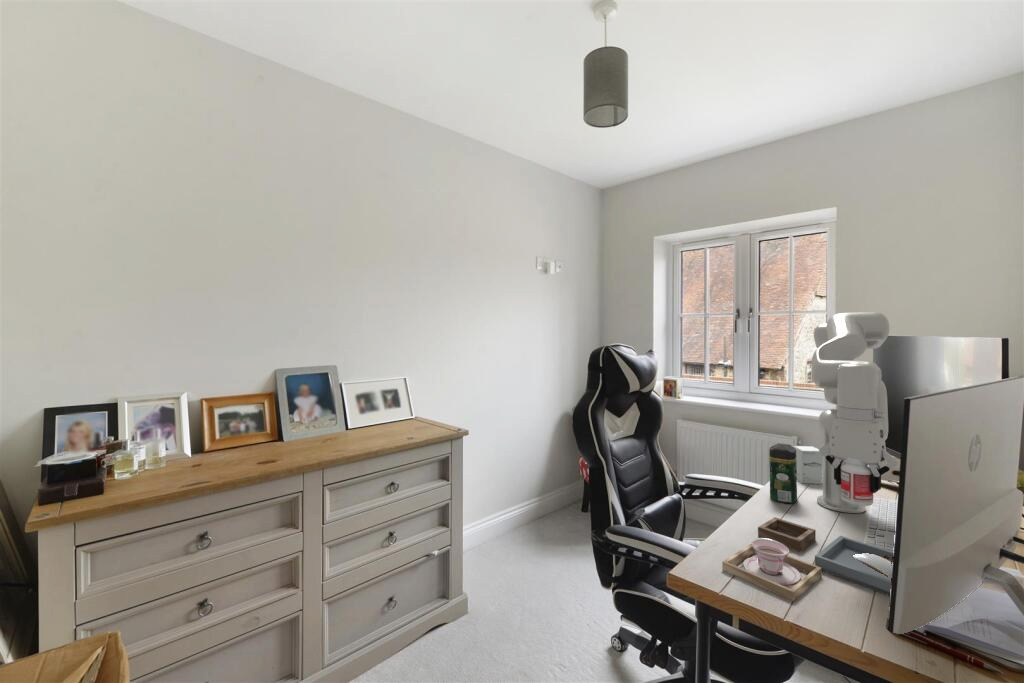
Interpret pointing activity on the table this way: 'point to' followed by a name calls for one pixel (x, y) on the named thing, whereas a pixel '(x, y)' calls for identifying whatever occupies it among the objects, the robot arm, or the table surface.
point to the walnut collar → (797, 544)
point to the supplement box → (809, 465)
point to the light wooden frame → (767, 584)
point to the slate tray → (854, 563)
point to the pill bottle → (856, 482)
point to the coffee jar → (783, 473)
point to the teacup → (771, 562)
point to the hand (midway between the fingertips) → (856, 486)
